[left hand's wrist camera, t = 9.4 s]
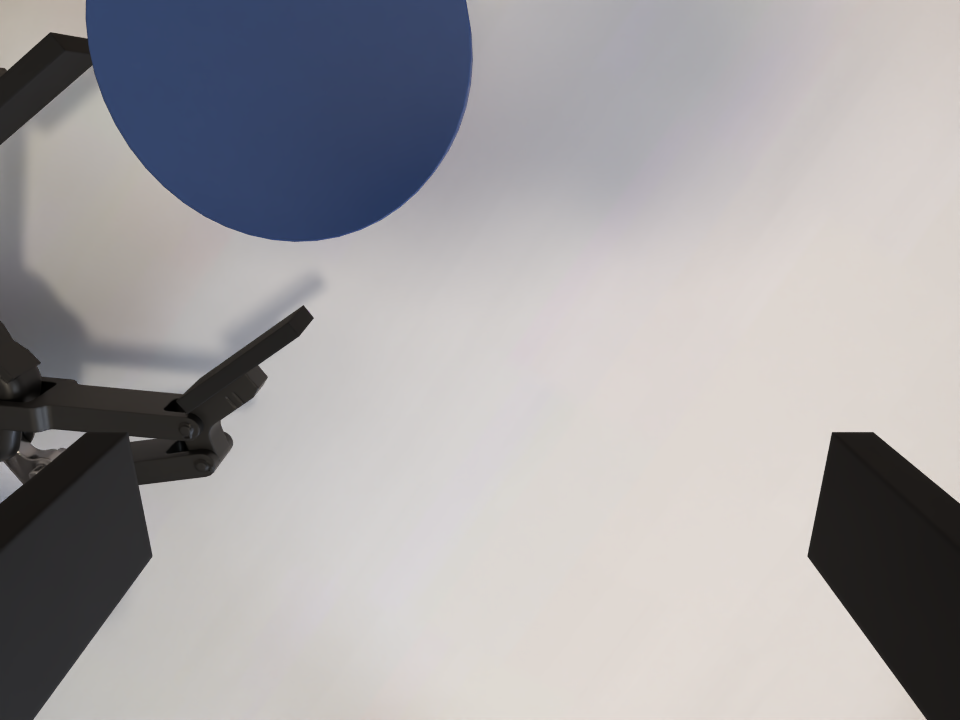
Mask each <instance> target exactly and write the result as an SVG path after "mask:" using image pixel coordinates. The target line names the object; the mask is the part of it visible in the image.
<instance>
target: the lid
mask: <svg viewBox="0 0 960 720" xmlns="http://www.w3.org/2000/svg"><path fill="white" fill-rule="evenodd" d="M86 26H87V36H88V46H89V51H90V55H91V60H92V64H93V69H94V73H95V76H96V79H97V82H98V85H99V88H100V91H101V94H102V96H103V99H104V102H105V104H106V106H107V108H108V110H109V112H110V114H111V116H112V118H113V121H114V123H115V125H116V126H117V128H118V129H119V131H120V133H121V134H122V136H123V138H124V139H125V141H126V142H127V144H128V146H129V147H130V149H131V150H132V151H133V152H134V154H135V155H136V156H137V158H138V159H139V160H140V161H141V163H142V164H143V165H144V166H145V168H146V169H147V170H148V171H149V172H150V173H151V174H152V175H153V176H154V177H155V178H156V179H157V180H158V181H159V182H160V183H161V184H162V185H163V186H164V187H165V188H166V189H167V190H169V191H170V192H171V193H172V194H173V195H175V196H176V197H177V198H178V199H180V200H181V201H182V202H183V203H185V204H186V205H188V206H189V207H191V208H192V209H194V210H196V211H197V212H199V213H200V214H202V215H203V216H205V217H207V218H209V219H211V220H213V221H215V222H217V223H219V224H221V225H223V226H225V227H228V228H231V229H234V230H236V231H239V232H242V233H245V234H248V235H252V236H257V237H261V238H266V239H271V240H281V241H292V242H299V241H318V240H324V239H329V238H335V237H340V236H343V235H346V234H349V233H352V232H355V231H359V230H361V229H363V228H366V227H368V226H370V225H372V224H374V223H376V222H378V221H380V220H382V219H383V218H385V217H386V216H388V215H389V214H391V213H392V212H394V211H395V210H397V209H398V208H400V207H401V206H402V205H403V204H404V203H405V202H407V201H408V200H409V199H410V198H411V197H412V196H413V195H415V194H416V193H417V192H418V191H419V189H420V188H421V187H422V186H423V185H424V184H425V183H426V181H427V180H428V179H429V178H430V177H431V176H432V174H433V173H434V172H435V170H436V169H437V168H438V166H439V165H440V163H441V162H442V160H443V158H444V157H445V155H446V154H447V152H448V151H449V149H450V147H451V145H452V143H453V141H454V139H455V137H456V134H457V132H458V130H459V128H460V125H461V122H462V119H463V116H464V113H465V110H466V106H467V101H468V96H469V91H470V86H471V76H472V62H473V56H472V34H471V28H470V22H469V16H468V10H467V4H466V0H86Z"/></svg>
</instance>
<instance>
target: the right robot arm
mask: <svg viewBox="0 0 960 720" xmlns="http://www.w3.org/2000/svg"><path fill="white" fill-rule="evenodd" d="M92 65H93V64H92V60H91V55H90V51H89V46H88V39H86V38H80V37H74V36H69V35H63V34H57V33H51V32H50V33H49V34H48V35H47V36H46V37H45V38H43V39H42V40H41V41H40V42H39V43H38V44H37V45H36V46H35V47H33V48H32V49H31V50H30V51H29V52H28V53H27V54H26V55H24V56H23V57H22V58H21V59H20V60H19V61H18V62H17V63H16V64H14V65H13V66H12V67H11V68H10V69H9V70H8V71H7V70H6V69H5V68H0V145H1V144H2V143H3V142H4V141H5V140H7V139H8V138H9V137H10V136H11V135H12V134H13V133H15V132H16V131H17V130H18V129H19V128H20V127H22V126H23V125H24V124H25V123H26V122H27V121H28V120H30V119H31V118H32V117H33V116H34V115H35V114H37V113H38V112H39V111H40V110H41V109H42V108H43V107H45V106H46V105H47V104H48V103H49V102H50V101H52V100H53V99H54V98H55V97H56V96H57V95H58V94H60V93H61V92H62V91H63V90H64V89H65V88H67V87H68V86H69V85H70V84H71V83H72V82H73V81H75V80H76V79H77V78H78V77H79V76H80V75H82V74H83V73H84V72H85V71H86V70H87V69H88V68H90V67H91V66H92ZM312 320H313V316H312V315H311V314H310V313H309V311H308V310H307V309H306V308H305V306H304V305H303V306H302V307H300V308H299V309H298V310H296V311H295V312H293V313H292V314H290V315H289V316H288V317H286V318H285V319H283V320H282V321H281V322H279V323H278V324H276V325H275V326H273V327H272V328H271V329H269V330H268V331H266V332H265V333H264V334H262V335H261V336H259V337H258V338H256V339H255V340H254V341H252V342H251V343H249V344H248V345H247V346H245V347H244V348H242V349H241V350H240V351H238V352H237V353H235V354H234V355H232V356H231V357H230V358H228V359H227V360H225V361H224V362H223V363H221V364H220V365H218V366H217V367H215V368H214V369H213V370H211V371H210V372H208V373H207V374H206V375H204V376H203V377H201V378H200V379H199V380H198V381H197V382H196V383H195V384H194V385H192V386H191V387H190V388H189V389H188V390H187V391H186V392H185V393H184V394H174V393H163V392H153V391H142V390H131V389H120V388H110V387H99V386H88V385H79V384H77V381H75V380H71V379H60V378H50V377H41V374H40V372H39V369H38V368H37V366H38V365H39V364H40V361H39V360H38V359H37V358H36V357H35V356H34V355H33V354H32V353H31V352H30V351H29V350H27V349H26V348H24V347H23V346H21V345H20V344H18V343H17V342H16V341H14V340H13V339H12V337H11V336H10V334H9V333H8V331H7V329H6V328H5V326H4V325H3V323H2V322H1V321H0V462H2V461H3V462H4V463H5V464H6V465H7V466H8V467H9V468H10V470H11V471H12V472H13V473H14V474H15V475H16V476H17V478H18V479H19V480H20V481H21V482H22V483H23V484H25V483H26V482H27V481H28V480H30V479H31V478H32V477H33V476H34V475H36V474H37V473H38V472H39V471H40V470H42V469H43V468H44V467H45V466H47V465H48V464H49V463H50V462H51V461H53V460H54V459H55V458H56V457H57V456H59V455H60V454H61V453H62V452H64V451H65V450H66V449H65V448H60V449H58V450H56V449H49V450H39V449H37V448H35V447H34V446H32V445H31V444H30V443H31V442H32V440H33V438H34V434H35V433H36V432H42V431H45V430H49V429H58V430H69V431H80V432H128V435H129V436H135V437H146V438H157V439H151V440H143V441H135V442H130V446H131V451H132V456H133V461H134V466H135V471H136V476H137V481H138V485H143V484H151V483H159V482H167V481H175V480H183V479H192V478H200V477H207V476H210V475H211V474H212V473H214V471H215V470H216V469H217V467H218V466H219V464H220V463H221V462H222V460H223V459H224V458H225V456H226V455H227V454H228V452H229V451H230V450H231V448H232V446H233V440H232V438H231V436H230V435H229V434H227V433H226V432H223V429H222V427H221V421H220V420H221V419H223V418H224V417H226V416H227V415H229V414H230V413H231V412H233V411H234V410H236V409H237V408H239V407H240V406H242V405H243V404H245V403H246V402H248V401H249V400H250V399H252V398H253V397H254V396H255V395H256V394H257V392H258V391H259V390H260V388H261V387H262V386H263V384H264V383H265V381H266V379H267V378H268V377H267V375H266V374H265V373H264V372H263V371H262V370H261V368H260V367H259V366H258V365H259V364H260V363H261V362H263V361H264V360H266V359H267V358H269V357H270V356H271V355H273V354H274V353H276V352H277V351H279V350H280V349H282V348H283V347H284V346H286V345H287V344H289V343H290V342H292V341H293V340H294V339H296V338H297V337H299V336H300V335H301V333H302V332H303V331H304V330H305V328H306V327H307V326H308V325H309V323H310V322H311V321H312Z"/></svg>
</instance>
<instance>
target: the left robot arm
mask: <svg viewBox="0 0 960 720" xmlns="http://www.w3.org/2000/svg"><path fill="white" fill-rule="evenodd" d="M151 558H152V551H151V546H150V541H149V536H148V531H147V526H146V521H145V516H144V511H143V506H142V501H141V496H140V491H139V486H138V481H137V476H136V471H135V466H134V461H133V456H132V451H131V446H130V440H129V435H128V432H87V433H85V434H84V435H83V436H82V437H80V438H79V439H78V440H77V441H76V442H74V443H73V444H72V445H71V446H70V447H68V448H67V449H66V450H65V451H64V452H62V453H61V454H60V455H59V456H57V457H56V458H55V459H54V460H53V461H51V462H50V463H49V464H48V465H47V466H45V467H44V468H43V469H42V470H40V471H39V472H38V473H37V474H36V475H34V476H33V477H32V478H31V479H30V480H28V481H27V482H26V483H25V484H23V485H22V486H21V487H20V488H19V489H17V490H16V491H15V492H14V493H13V494H11V495H10V496H9V497H8V498H6V499H5V500H4V501H3V502H2V503H0V720H33V719H34V718H35V716H36V715H37V714H38V712H39V711H40V710H41V708H42V707H43V705H44V704H45V703H46V701H47V700H48V699H49V697H50V696H51V695H52V693H53V692H54V690H55V689H56V688H57V686H58V685H59V684H60V682H61V681H62V679H63V678H64V677H65V675H66V674H67V673H68V671H69V670H70V669H71V667H72V666H73V664H74V663H75V662H76V660H77V659H78V658H79V656H80V655H81V653H82V652H83V651H84V649H85V648H86V647H87V645H88V644H89V643H90V641H91V640H92V638H93V637H94V636H95V634H96V633H97V632H98V630H99V629H100V627H101V626H102V625H103V623H104V622H105V621H106V619H107V618H108V617H109V615H110V614H111V612H112V611H113V610H114V608H115V607H116V606H117V604H118V603H119V601H120V600H121V599H122V597H123V596H124V595H125V593H126V592H127V591H128V589H129V588H130V586H131V585H132V584H133V582H134V581H135V580H136V578H137V577H138V575H139V574H140V573H141V571H142V570H143V569H144V567H145V566H146V565H147V563H148V562H149V560H150V559H151ZM808 558H809V559H810V560H811V562H812V563H813V565H814V566H815V567H816V569H817V570H818V571H819V573H820V574H821V575H822V577H823V578H824V580H825V581H826V582H827V584H828V585H829V586H830V588H831V589H832V591H833V592H834V593H835V595H836V596H837V597H838V599H839V600H840V601H841V603H842V604H843V606H844V607H845V608H846V610H847V611H848V612H849V614H850V615H851V617H852V618H853V619H854V621H855V622H856V623H857V625H858V626H859V627H860V629H861V630H862V632H863V633H864V634H865V636H866V637H867V638H868V640H869V641H870V643H871V644H872V645H873V647H874V648H875V649H876V651H877V652H878V653H879V655H880V656H881V658H882V659H883V660H884V662H885V663H886V664H887V666H888V667H889V669H890V670H891V671H892V673H893V674H894V675H895V677H896V678H897V679H898V681H899V682H900V684H901V685H902V686H903V688H904V689H905V690H906V692H907V693H908V695H909V696H910V697H911V699H912V700H913V701H914V703H915V704H916V705H917V707H918V708H919V710H920V711H921V712H922V714H923V715H924V716H925V718H926V719H927V720H960V503H958V502H957V501H956V500H955V499H954V498H952V497H951V496H950V495H949V494H947V493H946V492H945V491H944V490H943V489H941V488H940V487H939V486H938V485H937V484H935V483H934V482H933V481H932V480H930V479H929V478H928V477H927V476H926V475H924V474H923V473H922V472H921V471H920V470H918V469H917V468H916V467H915V466H913V465H912V464H911V463H910V462H909V461H907V460H906V459H905V458H904V457H903V456H901V455H900V454H899V453H898V452H896V451H895V450H894V449H893V448H892V447H890V446H889V445H888V444H887V443H886V442H884V441H883V440H882V439H881V438H880V437H878V436H877V435H876V434H875V433H873V432H832V435H831V440H830V446H829V451H828V456H827V461H826V466H825V471H824V476H823V481H822V486H821V491H820V496H819V501H818V506H817V511H816V516H815V521H814V526H813V531H812V536H811V541H810V546H809V551H808Z"/></svg>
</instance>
